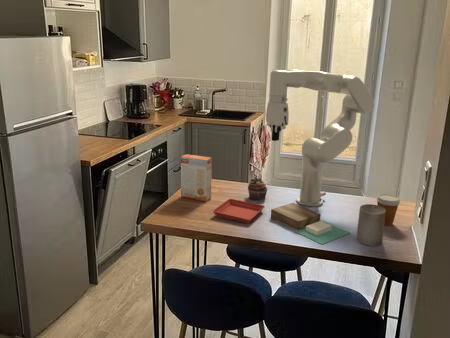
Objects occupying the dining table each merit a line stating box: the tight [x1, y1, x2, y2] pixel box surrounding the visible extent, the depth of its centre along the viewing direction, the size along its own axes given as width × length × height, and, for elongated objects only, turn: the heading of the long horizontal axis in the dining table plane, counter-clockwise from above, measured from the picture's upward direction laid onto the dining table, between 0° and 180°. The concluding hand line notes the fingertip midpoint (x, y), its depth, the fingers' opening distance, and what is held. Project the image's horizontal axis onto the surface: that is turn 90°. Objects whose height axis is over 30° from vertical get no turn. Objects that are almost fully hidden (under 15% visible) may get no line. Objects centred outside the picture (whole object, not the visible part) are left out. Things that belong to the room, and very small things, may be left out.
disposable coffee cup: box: [376, 193, 401, 227], centre depth 187 cm, size 10×10×12 cm
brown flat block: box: [270, 202, 321, 231], centre depth 188 cm, size 14×16×4 cm
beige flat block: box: [306, 220, 332, 235], centre depth 178 cm, size 9×6×2 cm, turn 128°
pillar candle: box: [356, 203, 386, 247], centre depth 169 cm, size 10×10×15 cm
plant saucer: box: [212, 198, 265, 224], centre depth 193 cm, size 18×18×3 cm
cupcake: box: [247, 177, 268, 201], centre depth 213 cm, size 10×10×10 cm
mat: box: [294, 221, 351, 245], centre depth 177 cm, size 18×14×1 cm
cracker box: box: [180, 153, 213, 202], centre depth 209 cm, size 14×6×21 cm, turn 65°
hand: (275, 140), depth 194 cm, fingers closed
